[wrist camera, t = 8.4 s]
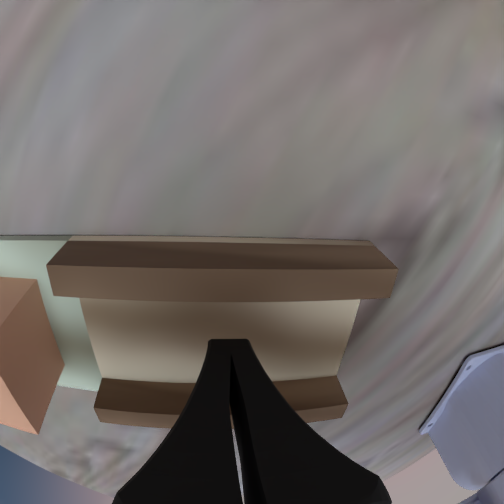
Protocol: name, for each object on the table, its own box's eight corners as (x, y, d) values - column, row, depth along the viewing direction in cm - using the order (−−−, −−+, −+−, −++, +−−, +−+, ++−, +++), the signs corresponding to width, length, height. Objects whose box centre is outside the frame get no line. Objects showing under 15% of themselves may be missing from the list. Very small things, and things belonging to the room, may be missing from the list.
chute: (328, 383, 16) (341, 417, 14) (-32, 358, 13) (-47, 383, 11) (369, 240, 13) (398, 268, 10) (-78, 237, 9) (-104, 257, 7)
